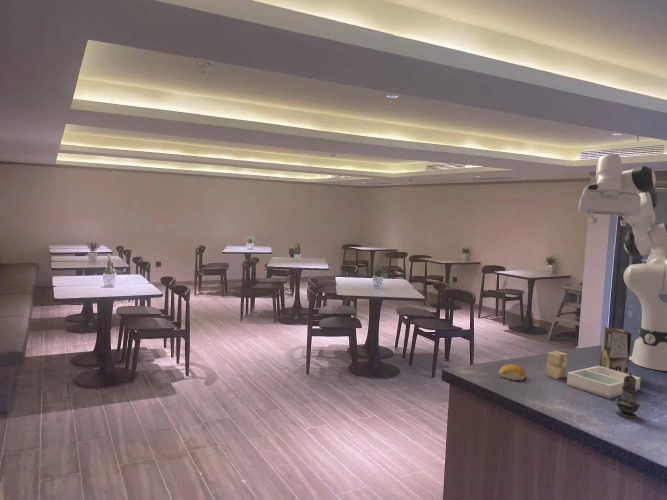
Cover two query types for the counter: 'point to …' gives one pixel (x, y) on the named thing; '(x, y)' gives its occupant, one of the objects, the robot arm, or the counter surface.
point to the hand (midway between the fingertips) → (608, 224)
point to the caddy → (600, 381)
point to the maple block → (556, 364)
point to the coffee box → (615, 349)
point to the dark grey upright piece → (628, 399)
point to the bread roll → (512, 372)
